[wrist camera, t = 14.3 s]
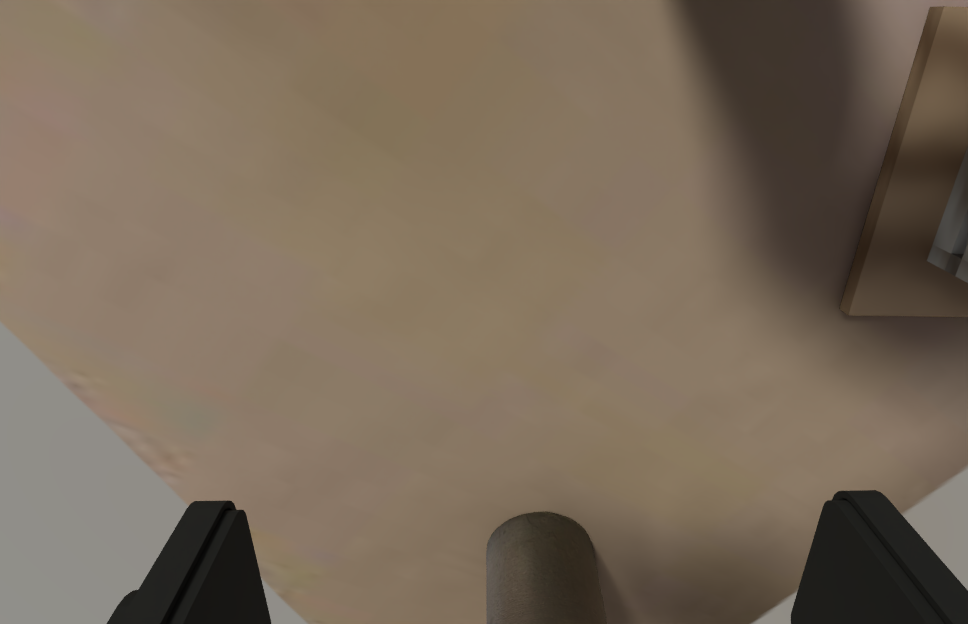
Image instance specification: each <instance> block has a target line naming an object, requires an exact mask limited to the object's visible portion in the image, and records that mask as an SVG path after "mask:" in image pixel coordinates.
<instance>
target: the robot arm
mask: <svg viewBox="0 0 968 624" xmlns="http://www.w3.org/2000/svg"><path fill="white" fill-rule="evenodd" d="M107 624H271V620H270V615H269V611H268V607H267V602H266V598H265V594H264V589H263V585H262V581H261V576H260V572H259V568H258V564H257V559H256V555H255V551H254V546H253V542H252V538H251V533H250V529H249V525H248V521H247V516H246V513H245V512H244V510H236V508H235V505H234V503H233V502H232V501H194V502H193V503H191V504H190V505H189V507H188V508H187V509H186V511H185V513H184V515H183V516H182V518H181V520H180V521H179V523H178V525H177V526H176V528H175V530H174V531H173V533H172V535H171V536H170V538H169V540H168V541H167V543H166V545H165V546H164V548H163V550H162V551H161V553H160V555H159V557H158V558H157V560H156V561H155V563H154V565H153V566H152V568H151V570H150V572H149V573H148V575H147V576H146V578H145V580H144V581H143V583H142V585H141V587H140V588H139V590H135V591H132V592H130V593H129V594H128V595H126V596H125V597H124V599H123V600H122V601H121V602H120V604H119V605H118V606H117V608H116V609H115V611H114V613H113V614H112V616H111V617H110V619H109V621H108V622H107ZM791 624H968V591H967V590H966V588H965V587H964V586H963V585H962V584H961V583H960V581H959V580H958V579H957V578H956V577H955V576H954V575H953V573H952V572H951V571H950V570H949V569H948V568H947V566H946V565H945V564H944V563H943V562H942V561H941V560H940V558H939V557H938V556H937V555H936V554H935V553H934V552H933V550H932V549H931V548H930V547H929V546H928V545H927V543H926V542H925V541H924V540H923V539H922V538H921V537H920V535H919V534H918V533H917V532H916V531H915V530H914V529H913V527H912V526H911V525H910V524H909V523H908V522H907V520H906V519H905V518H904V517H903V516H902V515H901V514H900V512H899V511H898V510H897V509H896V508H895V507H894V505H893V504H892V503H891V502H890V501H889V500H888V499H887V497H885V496H884V495H883V494H882V493H881V492H878V491H876V490H870V491H838V492H837V493H836V494H835V495H834V497H833V499H832V500H830V501H827V502H825V504H824V506H823V509H822V512H821V515H820V519H819V522H818V525H817V529H816V532H815V535H814V539H813V542H812V545H811V549H810V552H809V555H808V559H807V562H806V566H805V569H804V572H803V576H802V579H801V582H800V586H799V589H798V592H797V596H796V599H795V602H794V606H793V609H792V613H791Z"/></svg>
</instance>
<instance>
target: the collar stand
mask: <svg viewBox="0 0 968 624" xmlns="http://www.w3.org/2000/svg"><path fill="white" fill-rule="evenodd" d="M839 309H841V310H842V311H843V312H844V313H846V314H847V315H848V316H914V317H968V7H930V10H929V13H928V16H927V20H926V23H925V26H924V30H923V33H922V36H921V40H920V43H919V46H918V49H917V53H916V56H915V59H914V63H913V66H912V69H911V73H910V76H909V79H908V83H907V86H906V89H905V92H904V96H903V99H902V102H901V106H900V109H899V112H898V116H897V119H896V122H895V126H894V129H893V132H892V136H891V139H890V142H889V145H888V149H887V152H886V155H885V159H884V162H883V165H882V169H881V172H880V175H879V179H878V182H877V185H876V189H875V192H874V195H873V198H872V202H871V205H870V208H869V212H868V215H867V218H866V222H865V225H864V228H863V232H862V235H861V238H860V242H859V245H858V248H857V251H856V255H855V258H854V261H853V265H852V268H851V271H850V275H849V278H848V281H847V285H846V288H845V291H844V295H843V298H842V301H841V304H840V308H839Z"/></svg>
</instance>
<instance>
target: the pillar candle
mask: <svg viewBox="0 0 968 624" xmlns="http://www.w3.org/2000/svg"><path fill="white" fill-rule="evenodd" d="M486 565H487V624H607V622H606V616H605V611H604V604H603V598H602V594H601V589H600V585H599V579H598V573H597V568H596V564H595V558H594V552H593V547H592V543H591V541H590V539H589V536H588V534H587V533H586V531H585V530H584V529H583V528H582V527H581V526H580V525H579V524H577V523H576V522H575V521H573V520H571V519H569V518H567V517H564V516H561V515H557V514H554V513H550V512H534V513H528V514H523V515H520V516H517V517H514V518H512V519H510V520H508V521H506V522H505V523H503V524H502V525H501V526H500V527H498V528H497V529H496V530H495V531H494V532H493V534H492V535H491V537H490V539H489V542H488V545H487V554H486Z"/></svg>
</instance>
